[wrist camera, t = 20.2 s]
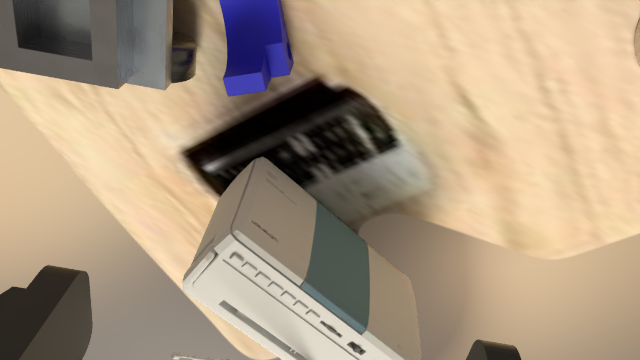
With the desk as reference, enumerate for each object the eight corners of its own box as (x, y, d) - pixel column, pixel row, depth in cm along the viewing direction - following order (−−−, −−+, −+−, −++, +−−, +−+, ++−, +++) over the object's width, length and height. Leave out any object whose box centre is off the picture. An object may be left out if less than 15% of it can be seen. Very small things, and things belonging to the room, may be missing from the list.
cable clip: (293, 63, 46) (284, 88, 41) (243, 70, 46) (228, 96, 41) (261, -93, 40) (246, -86, 35) (203, -81, 40) (180, -73, 35)
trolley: (209, -66, 41) (169, -47, 32) (202, 65, 46) (166, 111, 38) (38, -98, 40) (-49, -88, 32) (51, 37, 46) (-21, 77, 37)
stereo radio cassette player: (415, 271, 56) (439, 451, 39) (359, 311, 59) (357, 492, 42) (265, 143, 50) (213, 290, 32) (211, 195, 53) (138, 354, 36)
